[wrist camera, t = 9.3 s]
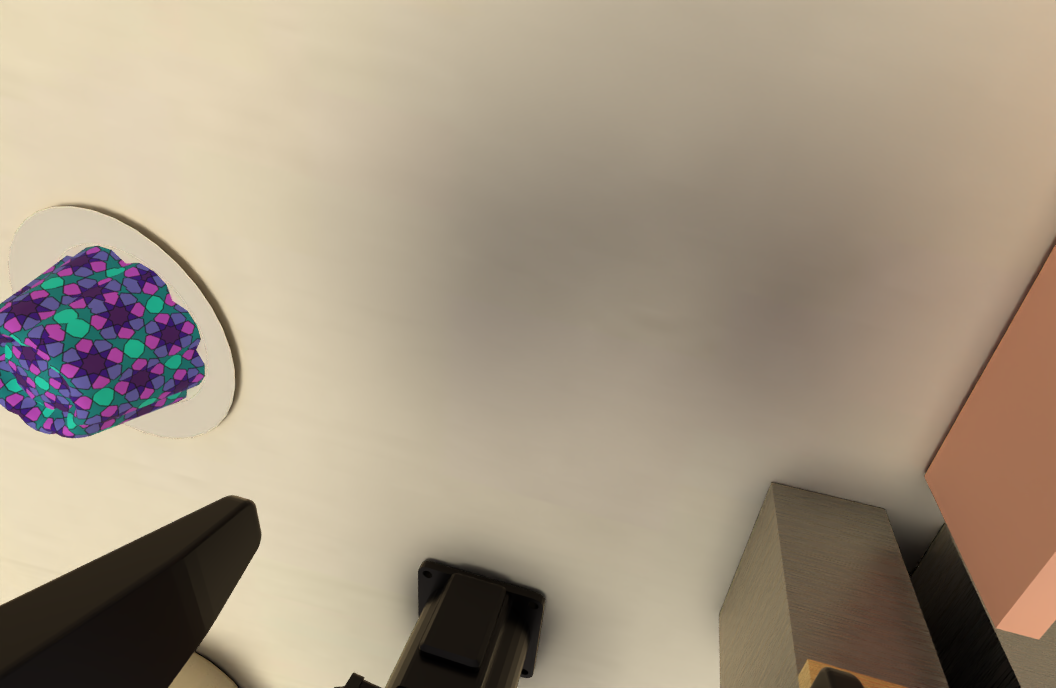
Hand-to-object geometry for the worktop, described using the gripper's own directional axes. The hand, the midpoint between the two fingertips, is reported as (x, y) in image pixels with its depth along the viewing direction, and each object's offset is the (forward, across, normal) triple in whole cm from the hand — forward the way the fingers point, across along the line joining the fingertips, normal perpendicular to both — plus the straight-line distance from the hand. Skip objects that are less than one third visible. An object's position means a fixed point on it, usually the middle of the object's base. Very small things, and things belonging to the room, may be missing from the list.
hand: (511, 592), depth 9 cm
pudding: (+14, +22, +7) cm, 27 cm away
